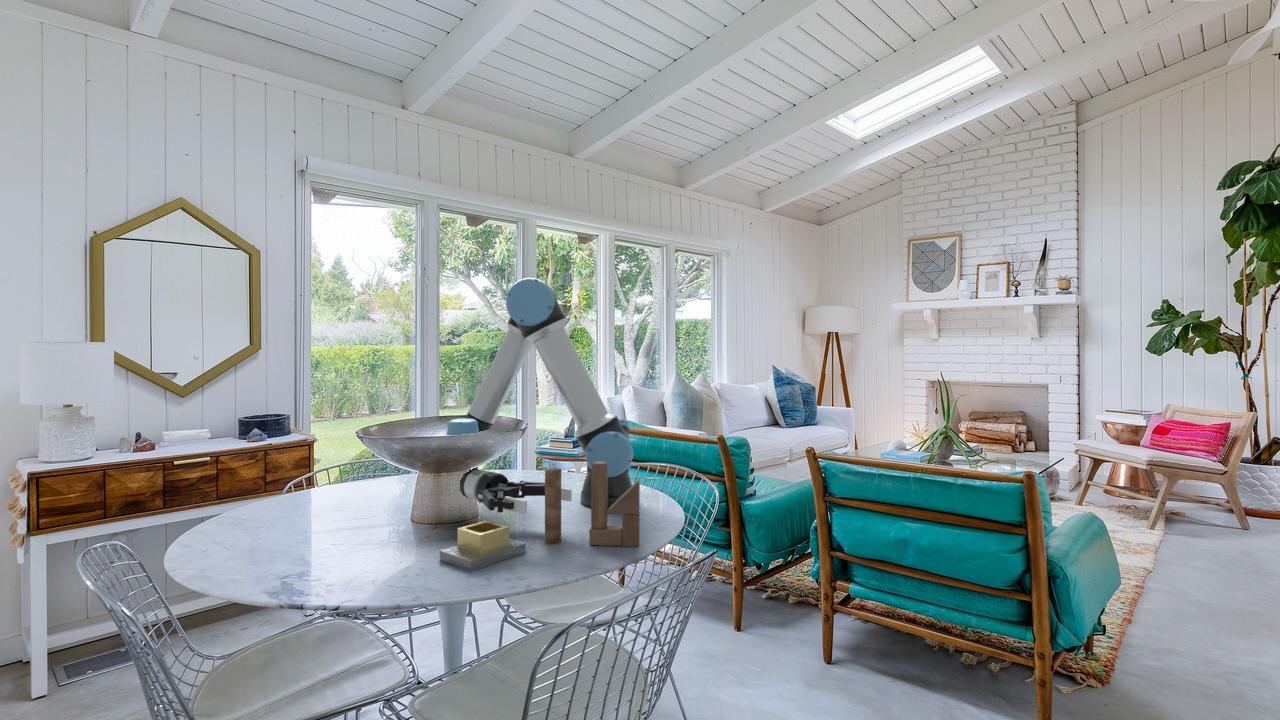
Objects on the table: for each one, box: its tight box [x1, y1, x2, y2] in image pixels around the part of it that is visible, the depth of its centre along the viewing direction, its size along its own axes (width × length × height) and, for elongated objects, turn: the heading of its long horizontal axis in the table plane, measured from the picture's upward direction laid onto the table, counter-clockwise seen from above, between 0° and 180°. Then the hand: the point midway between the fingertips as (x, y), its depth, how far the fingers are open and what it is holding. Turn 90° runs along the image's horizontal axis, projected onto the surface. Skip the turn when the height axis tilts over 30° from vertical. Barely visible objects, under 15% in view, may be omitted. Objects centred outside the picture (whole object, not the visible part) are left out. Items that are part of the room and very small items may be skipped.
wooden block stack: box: [588, 461, 641, 547], centre depth 139 cm, size 4×11×18 cm, turn 87°
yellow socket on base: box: [439, 520, 527, 572], centre depth 131 cm, size 14×10×6 cm
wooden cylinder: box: [544, 467, 562, 545], centre depth 141 cm, size 4×4×16 cm
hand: (549, 501), depth 141 cm, fingers open, 13 cm apart
